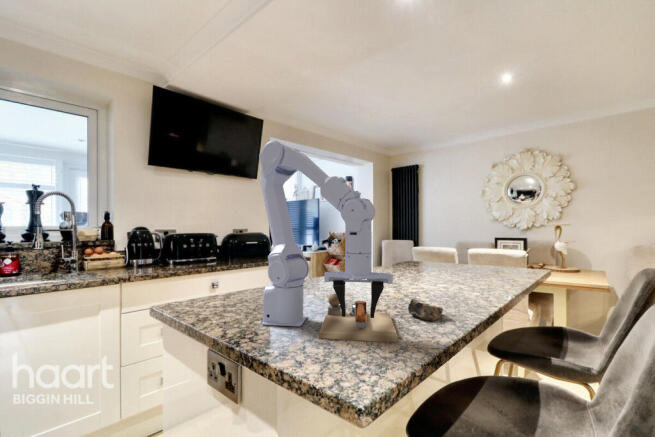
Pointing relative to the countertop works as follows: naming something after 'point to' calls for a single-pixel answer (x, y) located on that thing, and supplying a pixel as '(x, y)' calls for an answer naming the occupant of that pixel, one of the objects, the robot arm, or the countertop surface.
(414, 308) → the rock
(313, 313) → the countertop surface
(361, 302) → the lever
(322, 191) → the robot arm
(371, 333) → the base
